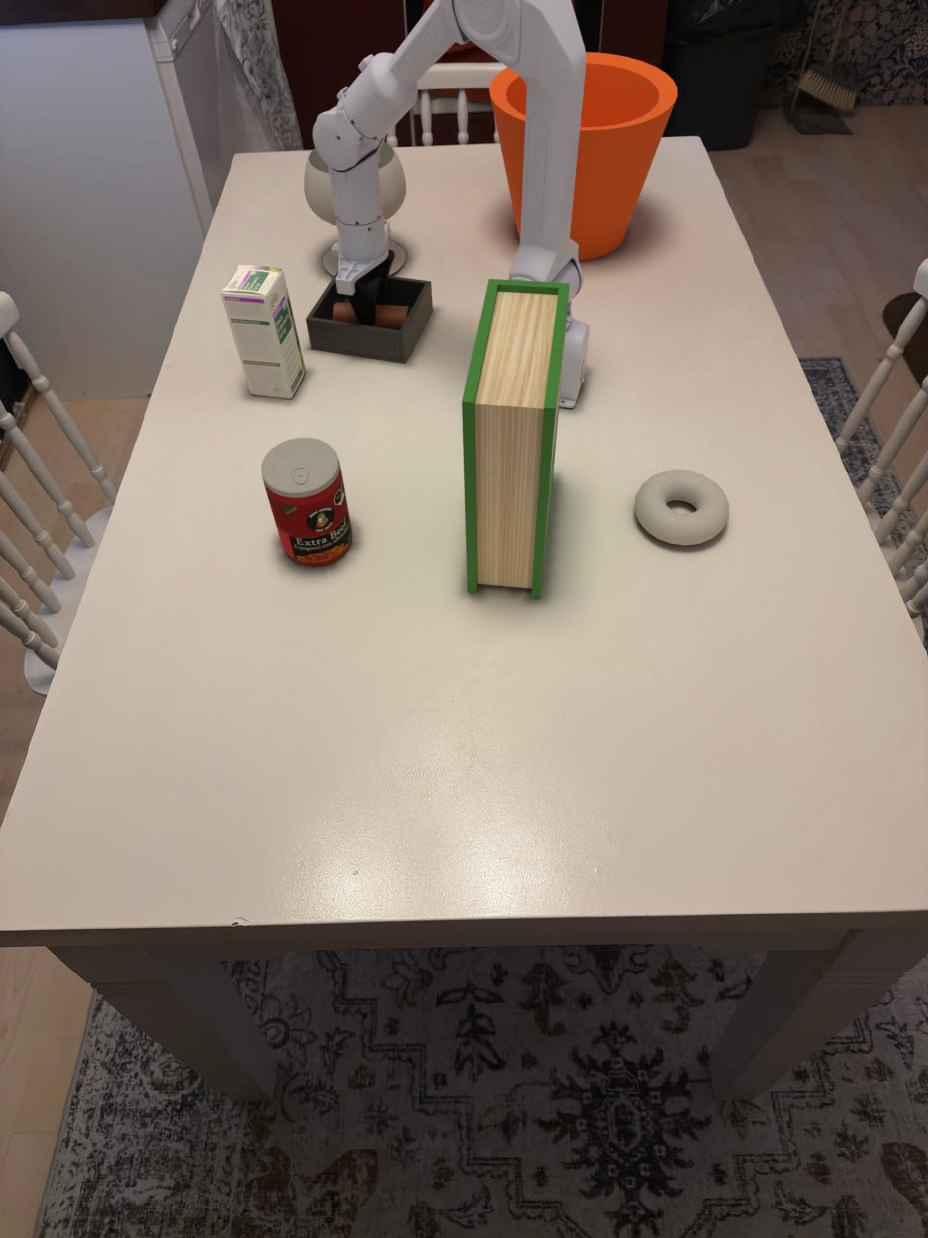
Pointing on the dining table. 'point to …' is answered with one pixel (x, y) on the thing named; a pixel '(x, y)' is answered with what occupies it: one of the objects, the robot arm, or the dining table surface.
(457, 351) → the dining table surface
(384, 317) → the wooden dowel
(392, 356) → the bin
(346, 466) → the dining table surface
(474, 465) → the hardback book
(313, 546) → the canned food
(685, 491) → the donut
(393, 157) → the chalice
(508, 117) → the flowerpot
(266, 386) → the syrup box
